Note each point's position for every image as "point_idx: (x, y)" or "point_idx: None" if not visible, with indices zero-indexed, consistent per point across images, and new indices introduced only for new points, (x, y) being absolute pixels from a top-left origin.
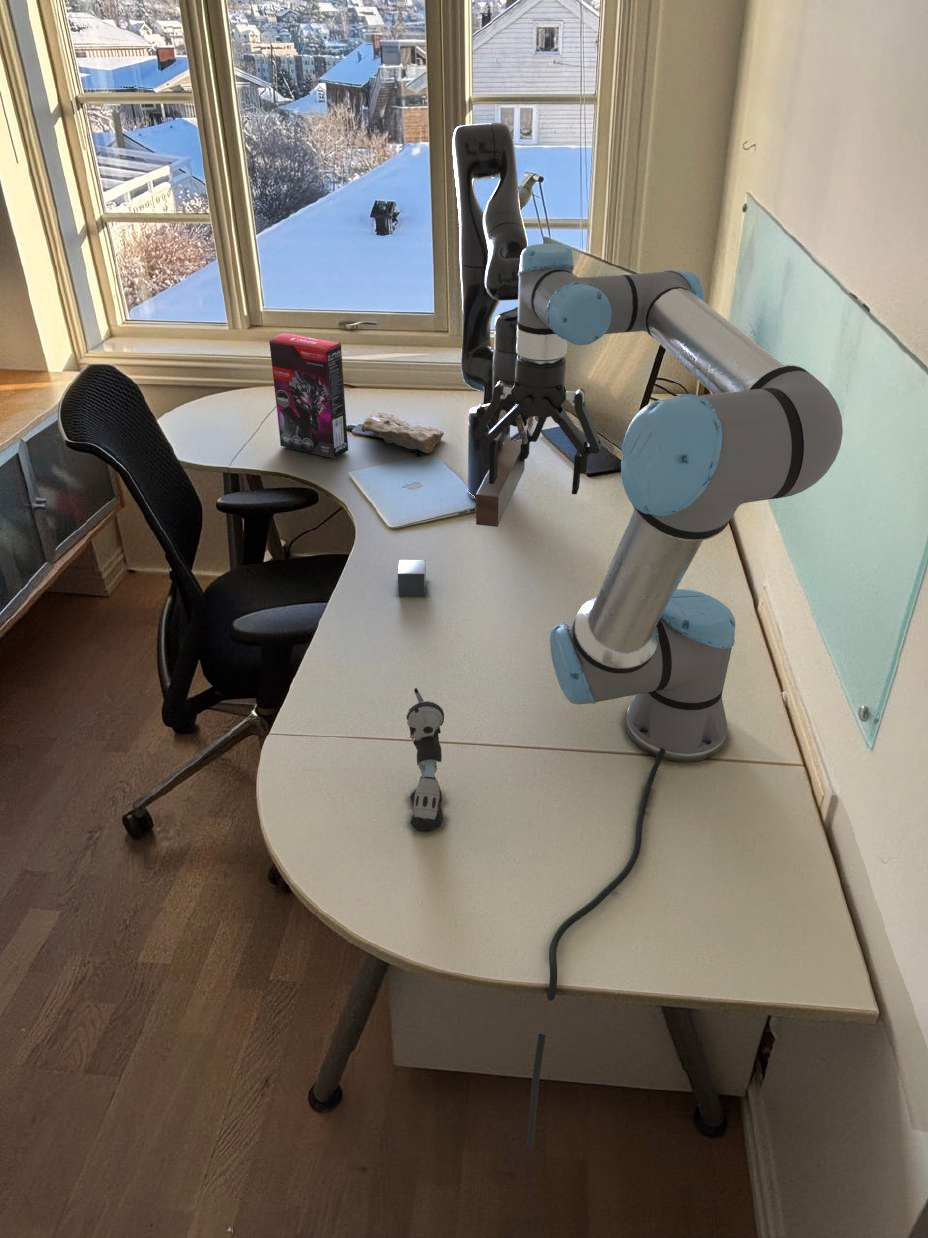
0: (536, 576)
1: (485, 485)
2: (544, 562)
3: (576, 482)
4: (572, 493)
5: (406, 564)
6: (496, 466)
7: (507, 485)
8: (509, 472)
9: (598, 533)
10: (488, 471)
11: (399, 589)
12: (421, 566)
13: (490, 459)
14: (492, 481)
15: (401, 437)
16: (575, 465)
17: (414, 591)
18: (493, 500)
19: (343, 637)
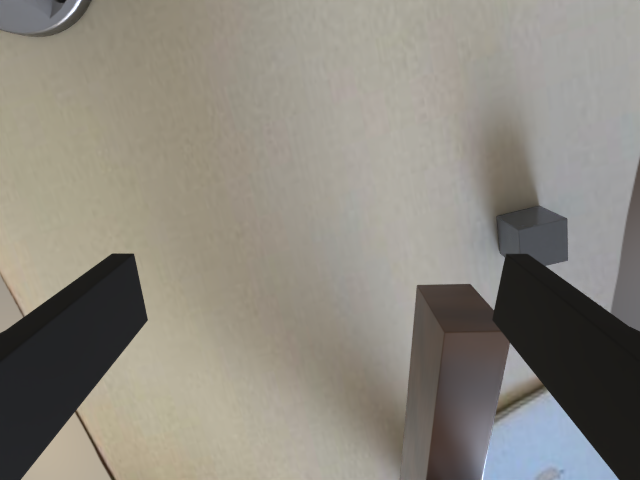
0: (335, 310)
1: (489, 382)
2: (331, 346)
3: (77, 282)
4: (129, 254)
5: (553, 249)
6: (532, 338)
7: (425, 411)
8: (431, 454)
9: (273, 427)
10: (487, 448)
11: (544, 209)
12: (526, 250)
13: (622, 325)
14: (518, 258)
15: None
16: (10, 345)
17: (517, 214)
18: (453, 324)
19: (623, 56)
